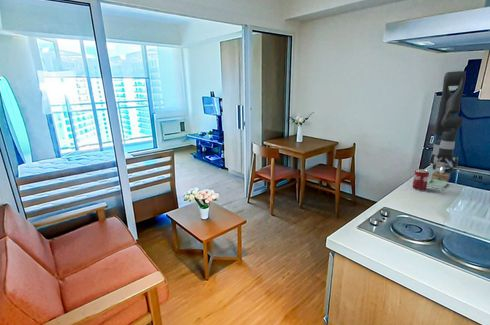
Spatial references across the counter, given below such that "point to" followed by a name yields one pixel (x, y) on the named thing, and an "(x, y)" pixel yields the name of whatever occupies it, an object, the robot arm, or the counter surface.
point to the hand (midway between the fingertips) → (441, 171)
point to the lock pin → (442, 169)
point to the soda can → (420, 179)
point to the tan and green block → (441, 176)
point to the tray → (437, 184)
